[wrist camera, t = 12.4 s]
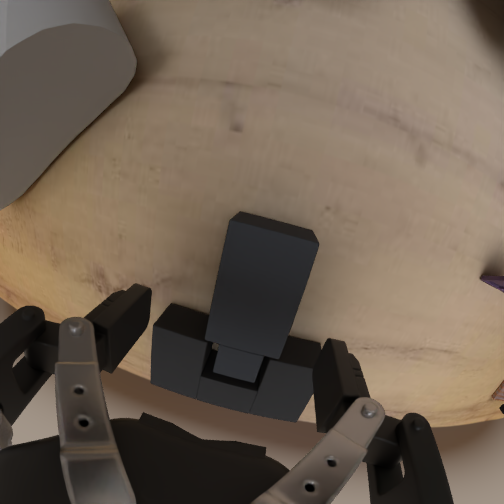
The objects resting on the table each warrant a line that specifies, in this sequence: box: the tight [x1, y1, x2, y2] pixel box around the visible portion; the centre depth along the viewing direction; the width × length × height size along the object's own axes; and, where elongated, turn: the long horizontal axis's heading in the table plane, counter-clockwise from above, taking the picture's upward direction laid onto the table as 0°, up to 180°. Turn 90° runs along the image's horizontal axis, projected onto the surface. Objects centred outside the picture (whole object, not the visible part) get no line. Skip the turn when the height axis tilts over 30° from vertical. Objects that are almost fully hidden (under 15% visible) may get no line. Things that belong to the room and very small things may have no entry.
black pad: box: [151, 303, 321, 422], centre depth 20 cm, size 12×6×4 cm, turn 76°
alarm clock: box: [0, 0, 137, 210], centre depth 11 cm, size 21×10×13 cm, turn 117°
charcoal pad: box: [205, 211, 319, 383], centre depth 18 cm, size 11×5×4 cm, turn 166°
